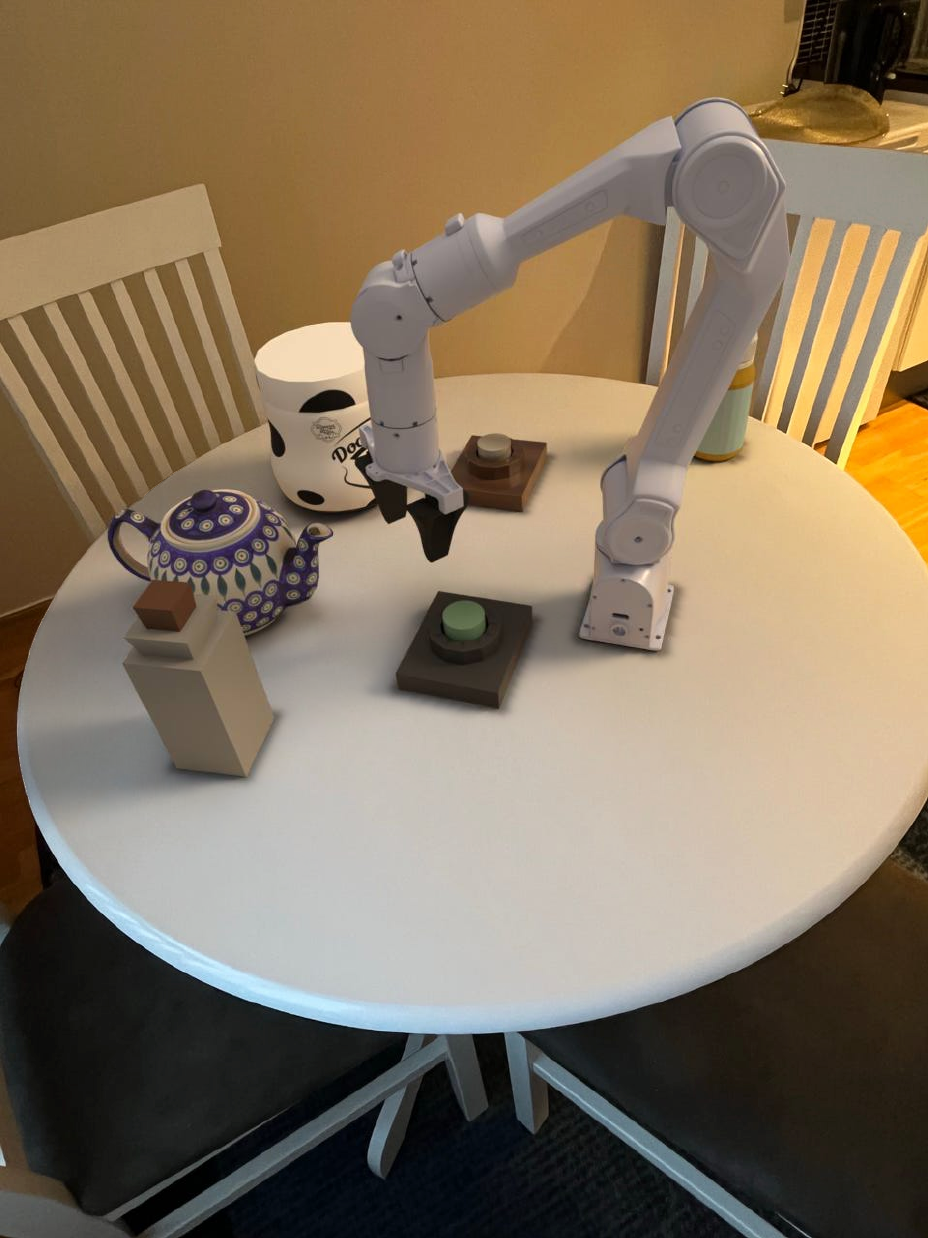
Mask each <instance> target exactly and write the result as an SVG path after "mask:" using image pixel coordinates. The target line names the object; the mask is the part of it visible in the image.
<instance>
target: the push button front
mask: <svg viewBox="0 0 928 1238" xmlns="http://www.w3.org/2000/svg"><path fill="white" fill-rule="evenodd" d="M458 601H473V602H475V603H477V604H479V605H480V606H481V607H482V608H483V609H484V612H485V623H486V629H485V631H484V633H483V635H482V636H480V637H479V638H477V639H476V640H472V641H467V642H459V641H453V640H451V639H449V638H448V637H447V636H446V634H445V632H444V627H443V619H442V614H443V612H444V610H445V609H446V607H448V606H449V605H450V604H452V603H455V602H458ZM533 621H534V620H533V605H531V604H526V603H525V604H524V603H517V602H511V601H505V600H498V599H493V598H488V597H487V598H486V597H480V596H475V595H473V596H472V595H467V594H460V593H455V592H447V591H442V590H438V591H437V592H436V594H435V597H434V598H433V600H432V602H431V604H430V605H429V608H428V610H427V612H426V613H425V616H424V617H423V619H422V621H421V623H420V625H419V627H418V629H417V630H416V633H415V635H414V637H413V638H412V641H411V643H410V644H409V646H408V648H407V650H406V652H405V654H404V656H403V658H402V660H401V662H400V663H399V666H398V668H397V669H396V672H395V678H396V682H397V688H398V690H402V691H408V692H413V693H417V694H423V695H427V696H431V697H432V696H433V697H439V698H444V699H449V700H453V701H459V702H464V703H469V704H473V705H479V706H484V707H490V708H494V709H500V708H501V706H502V703H503V699H504V697H505V695H506V692H507V689H508V686H509V684H510V682H511V679H512V677H513V674H514V671H515V668H516V666H517V663H518V661H519V659H520V655H521V653H522V650H523V648H524V645H525V642H526V640H527V638H528V635H529V633H530V629H531V627H532V625H533Z"/></svg>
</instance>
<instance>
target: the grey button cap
mask: <svg viewBox="0 0 928 1238" xmlns="http://www.w3.org/2000/svg"><path fill="white" fill-rule="evenodd" d="M482 436H483V437H481V438H480V439H479V440H478V456H479V458H480V459H481V460H483V461H489V462H497V461H503V460H505V459H507V458H509V457H510V456H511V440H510V438H511V437H509V435H506V434H503V433H498V432H497V433H495V432H493V433H488V434H485V435H482Z"/></svg>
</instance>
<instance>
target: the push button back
mask: <svg viewBox="0 0 928 1238" xmlns="http://www.w3.org/2000/svg"><path fill="white" fill-rule="evenodd" d="M483 436H484V435H471V436H470V438H469V439H468V441H467V443H466V444H465V446H464V448H463V449H462V451H461V453H460V454H459V456H458V457H457V459H456V461H455V463H454V465H453V466H452V467H451V469H450V472H451V474H452V476H453V478H454V480H455V481H456V483H457V484H458V485H459V486H461V487H462V488H463V490H464V491H466V492H467V493H468V494H469V500H470V503H469V505H468V506H476V507H482V508H483V507H484V508H491V509H497V510H499V509H500V510H507V511H514V512H523V511H524V510H525V506H526V504H527V503H528V500H529V498H530V496H531V494H532V491H533V489H534V487H535V485H536V483H537V481H538V479H539V476H540V474H541V472H542V470H543V468H544V465H545V463H546V461H547V459H548V443H547V442H543V441H534V440H526V439H525V440H523V439H513V438H512V437H509V438H510V440H511V456H510V457H509V458H507V459H505V460H503V461H497V462H489V461H483V460H481V459H480V458H479V456H478V440H479V439H480V438H481V437H483Z"/></svg>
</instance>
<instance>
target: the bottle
mask: <svg viewBox="0 0 928 1238" xmlns="http://www.w3.org/2000/svg"><path fill="white" fill-rule="evenodd" d="M758 339H759V335H758V331H757V332H756V334H755V336H754V338H753V340H752V342H751V344H750V346H749V348H748V350H747V352H746V354H745V356H744V358H743V360H742V362H741V364H740V366H739V368H738V370H737V372H736V374H735V376H734V378H733V380H732V382H731V383H730V385H729V387H728V389H727V391H726V393H725V395H724V397H723V399H722V401H721V403H720V405H719V407H718V409H717V411H716V413H715V415H714V417H713V419H712V421H711V423H710V425H709V427H708V429H707V431H706V433H705V435H704V437H703V439H702V441H701V443H700V444H699V446H698V448H697V450H696V452H695V454H694V456H693V457H696V458H698V459H701V460H704V461H709V462H723V461H726V460H731V459H733V458H734V457H735V456H737V455H738V454H740V453H741V452H742V450H743V448H744V443H745V439H746V434H747V433H746V431H747V427H748V421H749V416H750V415H749V414H750V409H751V403H752V396H753V391H754V384H755V380H756V368H755V363H754V361H755V354H756V350H757V345H758Z"/></svg>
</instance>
